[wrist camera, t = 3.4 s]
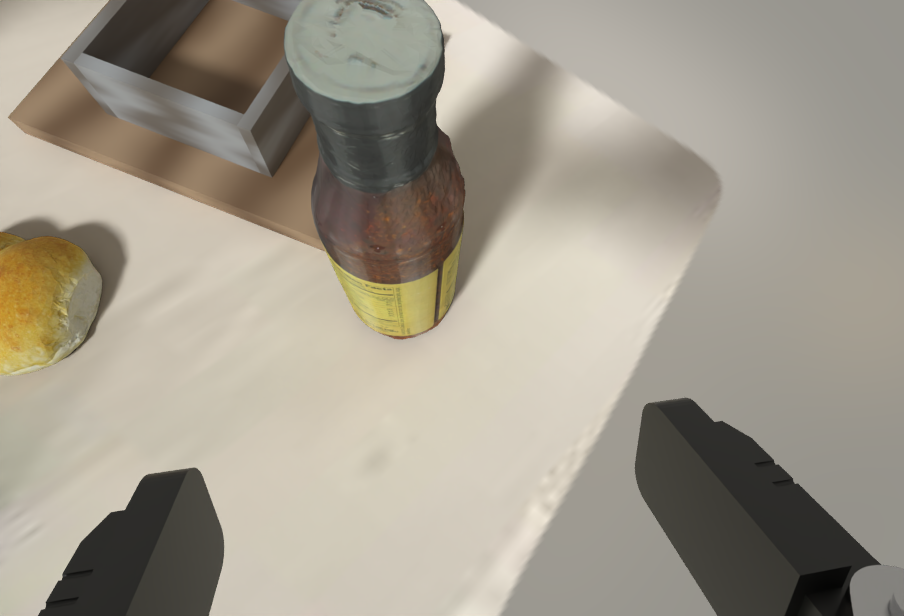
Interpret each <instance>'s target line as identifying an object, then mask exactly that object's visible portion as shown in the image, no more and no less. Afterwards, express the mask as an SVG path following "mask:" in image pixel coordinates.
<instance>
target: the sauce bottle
mask: <svg viewBox="0 0 904 616" xmlns="http://www.w3.org/2000/svg"><path fill="white" fill-rule="evenodd" d="M444 51H445V50H444V38H443V34H442V30H441V24H440V22H439V20H438V18H437V16H436V15H435V13H434V11H433V10H432V9H431V7H430V6H429V5H428V4H427V3H426V2H425V1H424V0H302V1H301V2H300V3H299V4H298V6H297V7H296V9H295V11H294V12H293V14H292V15H291V17H290V20H289V21H288V23H287V25H286V27H285V32H284V52H285V59H286V62H287V65H288V68H289V71H290V76H291V79H292V83H293V87H294V89H295V92H296V94H297V96H298V98H299V100H300V102H301V103H302V105H303V106H304V107H305V108H306V109H307V111H308V112H309V113H310V114H311V117H312V120H313V123H314V125H315V130H316V132H317V144H318V149H319V158H318V164H317V170H316V174H315V176H314V179H313V184H312V190H311V209H312V215H313V220H314V224H315V227H316V230H317V232H318V235H319V238H320V240H321V242H322V244H323V246H324V248H325V251H326V253H327V255H328V257H329V259H330V261H331V264H332V266H333V268H334V270H335V272H336V275H337V277H338V279H339V281H340V283H341V285H342V287H343V289H344V291H345V293H346V295H347V297H348V299H349V301H350V303H351V305H352V307H353V309H354V311H355V312H356V314H357V315H358V317H359V318H360V319H361V320H362V321H363V322H364V323H365V324H366V325H367V326H369V327H370V328H372V329H373V330H375V331H377V332H379V333H381V334H383V335H386V336H389V337H392V338H394V339H406V338H412V337H416V336H418V335H421V334H423V333H425V332H427V331H429V330H431V329H433V328H434V327H436V326H437V325H438V324H439V323H440V322H441V320H442V319H443V318H444V316H445V314H446V312H447V310H448V308H449V306H450V304H451V302H452V299H453V296H454V293H455V283H456V276H457V268H458V260H459V253H460V246H461V239H462V232H463V225H464V210H463V206H464V200H465V189H464V186H465V184H464V178H463V177H462V175H461V172H460V167H459V164H458V162H457V161H456V159H455V157H454V155H453V151H452V148H451V142H450V138H449V137H448V135H446V134H445V133H444V132H442V131H441V129H440V128H439V127H438V126H437V124H436V98H437V95H438V93H439V92H440V89H441V87H442V84H443V79H444V72H445V57H444Z"/></svg>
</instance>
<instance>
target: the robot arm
mask: <svg viewBox="0 0 904 616" xmlns="http://www.w3.org/2000/svg"><path fill="white" fill-rule="evenodd" d="M635 474H636V480H637V484H638V487H639V490H640V492H641V495H642V497H643V498H644V500H645V502H646V503H647V505H648V507H649V508H650V510H651V511H652V513H653V515H654V516H655V518H656V519H657V521H658V522H659V524H660V525H661V527H662V528H663V530H664V532H665V533H666V535H667V536H668V538H669V540H670V541H671V543H672V545H673V546H674V548H675V549H676V551H677V552H678V554H679V555H680V557H681V559H682V560H683V562H684V563H685V565H686V567H687V568H688V569H689V571H690V573H691V574H692V576H693V578H694V579H695V580H696V582H697V584H698V586H699V587H700V589H701V590H702V592H703V593H704V595H705V596H706V598H707V600H708V601H709V603H710V604H711V606H712V608H713V609H714V611H715V612H716V614H717V616H904V569H903V568H899V567H894V566H888V565H881V564H880V563H879V562H878V561H877V560H876V559H874V558H873V557H872V556H871V555H870V554H869V553H868V552H867V551H866V550H865V549H864V548H863V547H862V546H861V545H860V544H859V543H858V542H857V541H856V540H855V539H854V538H853V537H852V536H851V535H850V534H849V533H848V532H847V531H846V530H845V529H844V528H843V527H842V526H841V525H840V524H839V523H838V522H837V521H836V520H835V519H833V517H832V516H830V515H829V514H828V513H827V512H826V511H825V510H824V509H823V508H822V507H821V506H820V505H819V504H818V503H817V502H816V501H815V500H814V499H813V498H812V497H811V496H810V495H809V494H808V493H807V492H806V491H805V490H804V489H803V488H802V487H801V486H800V485H799V484H794V482H793V478H792V477H791V476H790V475H789V474H788V473H787V472H786V471H785V470H784V469H782V467H780V466H779V465H775V463H774V460H773V459H772V458H771V457H770V456H769V455H768V454H767V453H766V452H765V451H764V450H763V449H762V448H761V447H760V446H759V445H758V444H757V443H756V442H755V441H754V440H753V439H752V438H751V437H749V436H747V435H745V434H744V433H742V432H740V431H738V430H737V429H735V428H733V427H732V426H730V425H728V424H726V423H725V422H723V421H720V422H714V421H713V420H712V419H711V418H710V417H709V416H708V415H707V414H706V413H705V412H704V411H703V410H702V409H701V408H700V407H699V406H698V405H697V404H696V403H695V402H694V401H693V400H691V399H689V398H681V399H673V400H666V401H660V402H653V403H648V404H646V405H645V407H644V409H643V412H642V420H641V427H640V433H639V440H638V448H637V454H636V461H635ZM223 558H224V538H223V532H222V528H221V525H220V523H219V520H218V517H217V514H216V512H215V509H214V506H213V504H212V501H211V498H210V495H209V493H208V490H207V487H206V484H205V482H204V479H203V476H202V474H201V472H200V471H199V470H198V469H197V468H188V469H181V470H174V471H168V472H161V473H154V474H148V475H146V476H145V477H144V478H143V479H142V480H141V481H140V483H139V485H138V487H137V489H136V490H135V492H134V494H133V496H132V498H131V500H130V502H129V504H128V505H127V507H126V509H125V510H123V511H117V512H111V513H110V514H109V515H108V516H107V517H106V518H105V519H104V520H103V521H102V522H101V523H100V524H99V525H98V526H97V527H96V528H95V529H94V530H93V531H92V532H91V533H90V534H89V535H88V536H87V537H86V538H85V539H84V540H83V541H82V542H81V543H80V545H79V547H78V548H77V550H76V552H75V553H74V555H73V557H72V559H71V560H70V562H69V564H68V565H67V567H66V569H65V570H64V572H63V574H62V575H63V578H62V580H61V581H58V582H57V584H56V586H55V588H54V589H53V591H52V593H51V594H50V596H49V598H48V599H47V601H46V608H45V609H44V610H41V611H40V613H39V615H38V616H209V612H210V609H211V605H212V602H213V598H214V594H215V591H216V587H217V584H218V580H219V577H220V573H221V569H222V565H223Z"/></svg>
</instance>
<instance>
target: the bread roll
mask: <svg viewBox="0 0 904 616" xmlns="http://www.w3.org/2000/svg"><path fill="white" fill-rule="evenodd" d="M101 293H102V279H101V275H100V274H99V272H98V271H97V270H96V269H95V267H94V266H93V265H92V263H91V261H90V259H89V258H88V256H87V255H86V253H85V252H84V251H83V250H82V249H81V248H80V247H78V246H77V245H75V244H73V243H71V242H69V241H66V240H64V239H61V238H56V237H52V236H43V237H37V238H33V239H30V240H24V239H22V238H20V237H18V236H15V235H12V234H8V233H4V232H0V375H10V376H11V375H21V374H26V373H31V372H34V371H38V370H41V369H44V368H46V367H48V366H51V365H53V364H56V363H57V362H59V361H60V360H62V359H63V358H65V357H66V356H68V355H69V354H70V353H71V352H72V351H73V350H75V349H76V348H77V347H78V346H79V345H80V344H81V343H82V342H83V341H84V339H85V337H86V335H87V333H88V330H89V328H90V326H91V324H92V322H93V320H94V319H95V316H96V314H97V310H98V306H99V302H100V297H101Z"/></svg>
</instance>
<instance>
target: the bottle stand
mask: <svg viewBox="0 0 904 616" xmlns="http://www.w3.org/2000/svg"><path fill="white" fill-rule="evenodd" d="M301 1H302V0H109V1H108V3H107V4H106V5H105V6H104V7H103V8H102V9H101V11H100V12H99V13H98V14H97V15H96V16H95V18H94V19H93V20H92V21H91V22H90V23H89V24H88V26H87V27H86V28H85V29H84V30H83V31H82V32H81V34H80V35H79V36H78V37H77V38H76V39H75V41H74V42H73V43H72V44H71V45H70V46H69V47H68V49H67V50H66V51H65V52H64V53H63V54H62V56H61V57H60V58H59V59H58V60H57V61H56V62H55V64H54V65H53V66H52V67H51V68H50V69H49V71H48V72H47V73H46V74H45V75H44V76H43V77H42V79H41V80H40V81H39V82H38V83H37V84H36V85H35V87H34V88H33V89H32V90H31V91H30V92H29V94H28V95H27V96H26V97H25V98H24V99H23V100H22V102H21V103H20V104H19V105H18V106H17V107H16V109H15V110H14V111H13V112H12V113H11V114H10V115H9V117H8V118H9V119H10V120H11V121H13V122H14V123H15V124H16V125H17V126H18V127H19V128H20V129H21V130H23V131H24V132H25V133H27V134H29V135H32V136H34V137H37V138H39V139H42V140H44V141H47V142H50V143H52V144H55V145H57V146H60V147H62V148H65V149H67V150H70V151H72V152H75V153H77V154H80V155H83V156H85V157H88V158H90V159H93V160H95V161H98V162H100V163H103V164H105V165H108V166H110V167H113V168H115V169H118V170H121V171H123V172H126V173H128V174H131V175H133V176H136V177H138V178H141V179H143V180H146V181H148V182H151V183H153V184H156V185H159V186H161V187H164V188H166V189H169V190H171V191H174V192H176V193H179V194H181V195H184V196H186V197H189V198H191V199H194V200H197V201H199V202H202V203H204V204H207V205H209V206H212V207H214V208H217V209H219V210H222V211H224V212H227V213H229V214H232V215H235V216H237V217H240V218H242V219H245V220H247V221H250V222H252V223H255V224H257V225H260V226H262V227H265V228H268V229H270V230H273V231H275V232H278V233H280V234H283V235H285V236H288V237H290V238H293V239H295V240H298V241H300V242H303V243H306V244H308V245H311V246H313V247H316V248H318V249H321V250H323V251H325V248H324V246H323V244H322V242H321V240H320V238H319V235H318V232H317V230H316V227H315V224H314V220H313V215H312V209H311V190H312V184H313V179H314V176H315V174H316V170H317V164H318V158H319V149H318V144H317V132H316V130H315V125H314V123H313V120H312V117H311V114H310V113H309V112H308V111H307V109H306V108H305V107H304V106H303V105H302V103H301V102H300V100H299V98H298V96H297V94H296V92H295V89H294V87H293V83H292V79H291V76H290V71H289V68H288V65H287V62H286V59H285V52H284V32H285V27H286V25H287V23H288V21H289V20H290V17H291V15H292V14H293V12H294V11H295V9H296V7H297V6H298V4H299V3H300V2H301Z"/></svg>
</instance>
